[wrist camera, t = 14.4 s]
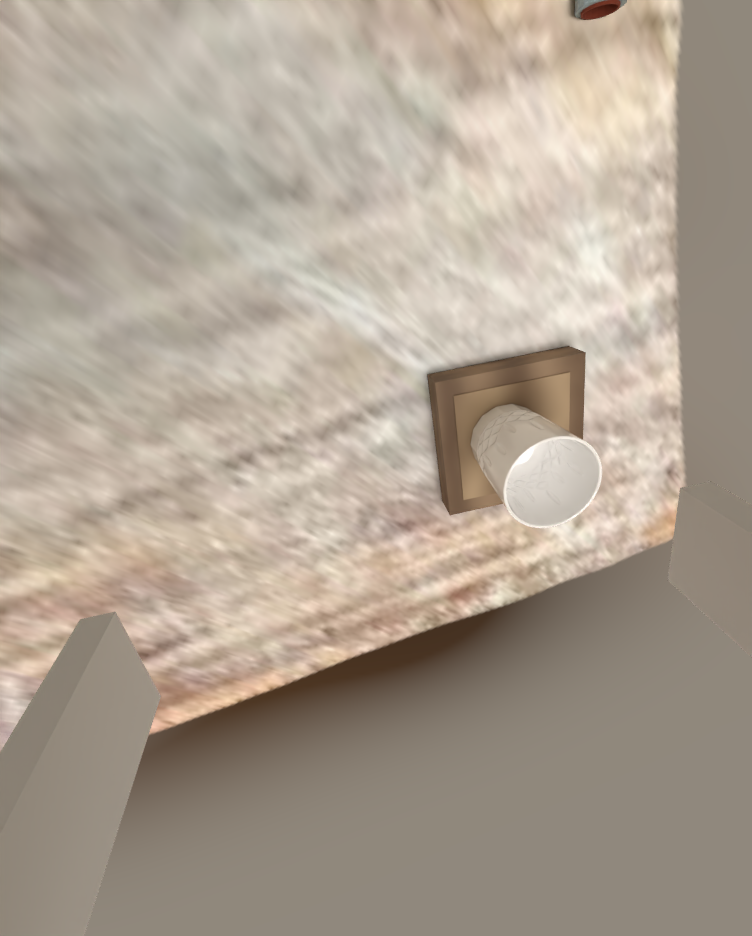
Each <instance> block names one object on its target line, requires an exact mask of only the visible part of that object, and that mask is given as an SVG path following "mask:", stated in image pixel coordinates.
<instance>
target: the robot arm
mask: <svg viewBox="0 0 752 936" xmlns="http://www.w3.org/2000/svg"><path fill="white" fill-rule="evenodd" d="M668 581H669V582H670V583H671V584H672V585H674V586H675V587H676V588H677V589H678V590H679V591H680V592H681V593H682V594H683V595H684V596H686V597H687V598H688V599H689V600H690V601H691V602H692V603H693V604H694V605H695V606H697V608H699V609H700V610H701V611H702V612H703V613H704V614H705V615H706V616H707V617H708V618H709V619H710V620H712V621H713V622H714V623H715V624H716V625H717V626H718V627H719V628H720V629H721V630H723V632H725V633H726V634H727V635H728V636H729V637H730V638H731V639H732V640H733V641H734V642H736V644H738V645H739V646H740V647H741V648H742V649H743V650H744V651H746V653H747V654H748V655H750V656H751V657H752V505H751V504H750V503H748V502H746V501H744V500H743V499H741V498H739V497H737V496H736V495H734V494H732V493H731V492H729V491H727V490H725V489H724V488H722V487H720V486H719V485H717V484H715V483H713V482H711V481H710V482H705V483H701V484H697V485H692V486H687V487H682V488H680V493H679V501H678V508H677V515H676V523H675V530H674V537H673V545H672V552H671V559H670V567H669V574H668ZM160 697H161V696H160V694H159V692H158V690H157V688H156V686H155V684H154V683H153V681H152V679H151V677H150V675H149V673H148V671H147V670H146V668H145V666H144V664H143V662H142V660H141V658H140V657H139V655H138V653H137V651H136V649H135V647H134V645H133V643H132V642H131V640H130V638H129V636H128V634H127V632H126V630H125V629H124V627H123V625H122V623H121V621H120V619H119V617H118V616H117V614H116V612H112V613H107V614H103V615H98V616H93V617H89V618H84V619H80V621H79V622H78V624H77V626H76V627H75V629H74V631H73V632H72V634H71V636H70V637H69V639H68V641H67V642H66V644H65V646H64V647H63V649H62V651H61V652H60V654H59V656H58V657H57V659H56V661H55V662H54V664H53V666H52V667H51V669H50V671H49V672H48V674H47V676H46V677H45V679H44V680H43V682H42V684H41V685H40V687H39V689H38V690H37V692H36V694H35V695H34V697H33V699H32V700H31V702H30V704H29V705H28V707H27V709H26V710H25V712H24V714H23V715H22V717H21V719H20V720H19V722H18V724H17V725H16V727H15V729H14V730H13V732H12V734H11V735H10V737H9V739H8V740H7V742H6V744H5V745H4V747H3V749H2V750H1V752H0V936H84V934H85V931H86V928H87V925H88V922H89V919H90V915H91V913H92V910H93V906H94V903H95V900H96V897H97V894H98V891H99V887H100V885H101V881H102V878H103V875H104V872H105V869H106V866H107V863H108V859H109V856H110V853H111V850H112V847H113V844H114V841H115V838H116V835H117V831H118V828H119V825H120V822H121V819H122V816H123V813H124V810H125V806H126V803H127V800H128V797H129V794H130V791H131V788H132V785H133V782H134V778H135V775H136V772H137V769H138V766H139V763H140V760H141V757H142V753H143V750H144V747H145V744H146V741H147V737H148V735H149V732H150V728H151V725H152V722H153V719H154V716H155V713H156V710H157V707H158V703H159V700H160Z"/></svg>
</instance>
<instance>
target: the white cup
mask: <svg viewBox="0 0 752 936" xmlns="http://www.w3.org/2000/svg"><path fill="white" fill-rule="evenodd" d="M470 445H471V448H472V451H473V454H474V457H475V459H476V461H477V462H478V464H479V465H480V467H481V469H482V471H483V473H484V475H485V476H486V477H487V479H488V481H489V483H490V484H491V486H492V487H493V489H494V490H495V492H496V493H497V495H498V496H499V498H500V499H501V501H502V502H503V504H504V505H505V507H506V508H507V510H508V512H509V513H510V514H511V516H512V517H513V518H514V519H516V520H517V521H518V522H520V523H522V524H524V525H526V526H529V527H534V528H549V527H554V526H558V525H561V524H563V523H566V522H568V521H570V520H571V519H573V518H575V517H576V516H578V515H579V514H580V513H581V512H582V511H584V510H585V509H586V508H587V506H588V505H589V504H590V503H591V502H592V500H593V499H594V497H595V495H596V493H597V491H598V489H599V486H600V483H601V479H602V464H601V460H600V458H599V455H598V453H597V452H596V450H595V449H594V448H593V447H592V446H591V445H590V444H589V443H587V442H586V441H584V440H582V439H581V438H579V437H577V436H576V435H574V434H572V433H570V432H569V431H567V430H566V429H564V428H562V427H561V426H559V425H557V424H556V423H554V422H552V421H550V420H548V419H546V418H545V417H543V416H541V415H539V414H537V413H534V412H532V411H531V410H529V409H528V408H525V407H522V406H518V405H515V404H507V405H502V406H496V407H495V408H493V409H492V410H490V411H489V412H487V413H486V414H484V415H483V416H482V417H481V418H480V420H479V421H478V423H477V424H476V426H475V427H474V429H473V432H472V438H471V444H470Z"/></svg>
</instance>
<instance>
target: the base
mask: <svg viewBox="0 0 752 936" xmlns="http://www.w3.org/2000/svg"><path fill="white" fill-rule="evenodd" d="M427 376H428V384H429V393H430V401H431V409H432V418H433V426H434V435H435V443H436V451H437V460H438V468H439V477H440V485H441V493H442V501H443V503H444V505H445V507H446V509H447V510H448V512H449V514H450V515H453V514H457V513H462V512H467V511H471V510H476V509H480V508H485V507H490V506H494V505H499V504H503V502H502V501H501V499H500V498H499V496H498V495H497V493H496V492H495V490H494V489H493V487H492V486H491V484H490V483H489V481H488V479H487V477H486V476H485V475H484V473H483V471H482V469H481V467H480V465H479V464H478V462H477V461H476V459H475V457H474V454H473V451H472V448H471V445H470V444H471V438H472V432H473V429H474V427H475V426H476V424H477V423H478V421H479V420H480V418H481V417H482V416H483V415H484V414H486V413H487V412H489V411H490V410H492V409H493V408H495V407H496V406H502V405H507V404H515V405H518V406H522V407H525V408H528V409H529V410H531V411H532V412H534V413H537V414H539V415H541V416H543V417H545V418H546V419H548V420H550V421H552V422H554V423H556V424H557V425H559V426H561V427H562V428H564V429H566V430H567V431H569V432H570V433H572V434H574V435H576V436H577V437H579V438H581V439H582V440H583V417H584V384H585V352H583V351H580V350H578V349H575V348H572V347H570V346H567V347H562V348H557V349H552V350H547V351H542V352H537V353H532V354H527V355H523V356H518V357H513V358H508V359H503V360H498V361H493V362H488V363H483V364H478V365H473V366H468V367H463V368H458V369H453V370H448V371H443V372H438V373H433V374H428V375H427Z"/></svg>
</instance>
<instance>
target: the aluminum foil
mask: <svg viewBox="0 0 752 936" xmlns="http://www.w3.org/2000/svg"><path fill="white" fill-rule="evenodd" d="M626 2H627V0H575V17H577V18H581V19H584V20H589V19H596V18H600V17H603V16H606V15H609V14H611V13H613V12H615V11H616V10H618V9H619V8H620V7H622V6H623V5H624V4H625V3H626Z"/></svg>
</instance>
